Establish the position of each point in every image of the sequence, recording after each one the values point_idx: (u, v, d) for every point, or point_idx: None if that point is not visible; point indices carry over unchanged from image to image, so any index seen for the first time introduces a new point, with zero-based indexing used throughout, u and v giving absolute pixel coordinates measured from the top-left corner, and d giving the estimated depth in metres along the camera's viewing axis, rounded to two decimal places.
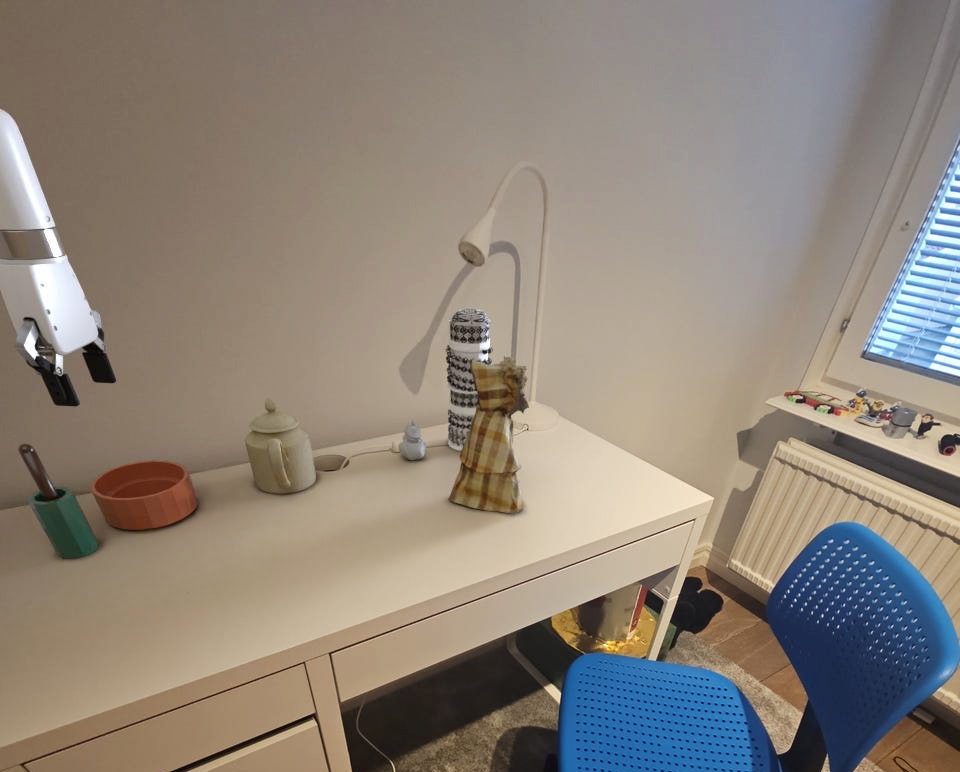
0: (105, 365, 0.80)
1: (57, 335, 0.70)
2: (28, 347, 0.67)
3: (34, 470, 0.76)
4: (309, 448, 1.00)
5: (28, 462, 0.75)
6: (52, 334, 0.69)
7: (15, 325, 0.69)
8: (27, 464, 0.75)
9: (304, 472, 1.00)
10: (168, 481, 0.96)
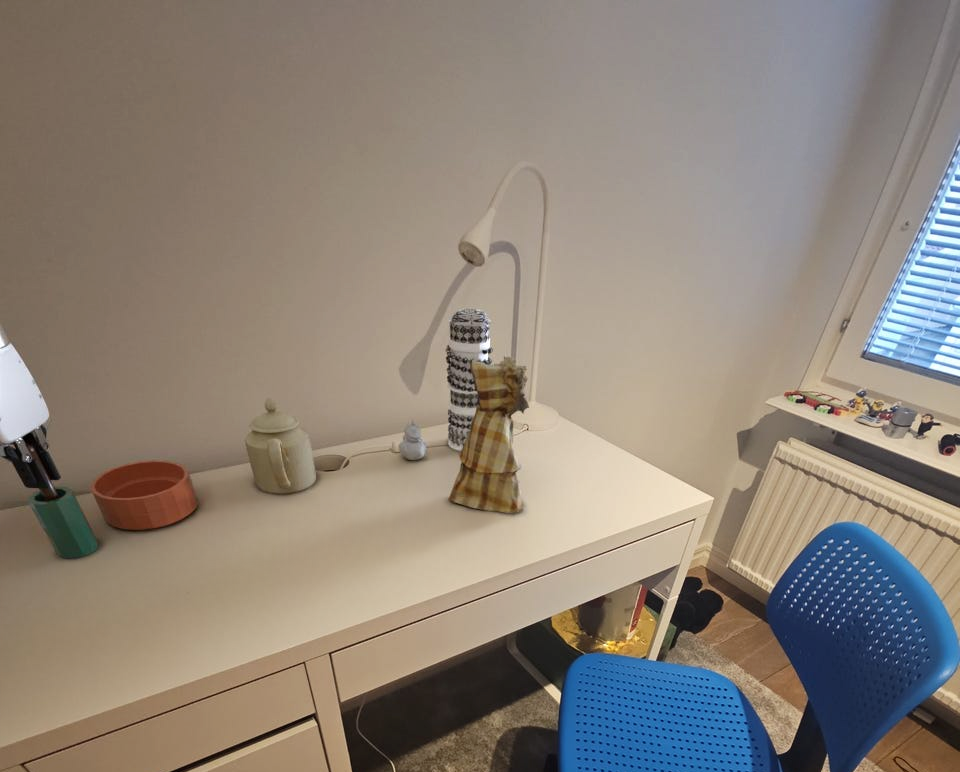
0: (47, 463, 0.77)
1: (1, 425, 0.68)
2: None
3: None
4: (309, 448, 1.00)
5: None
6: None
7: None
8: None
9: (304, 472, 1.00)
10: (168, 481, 0.96)
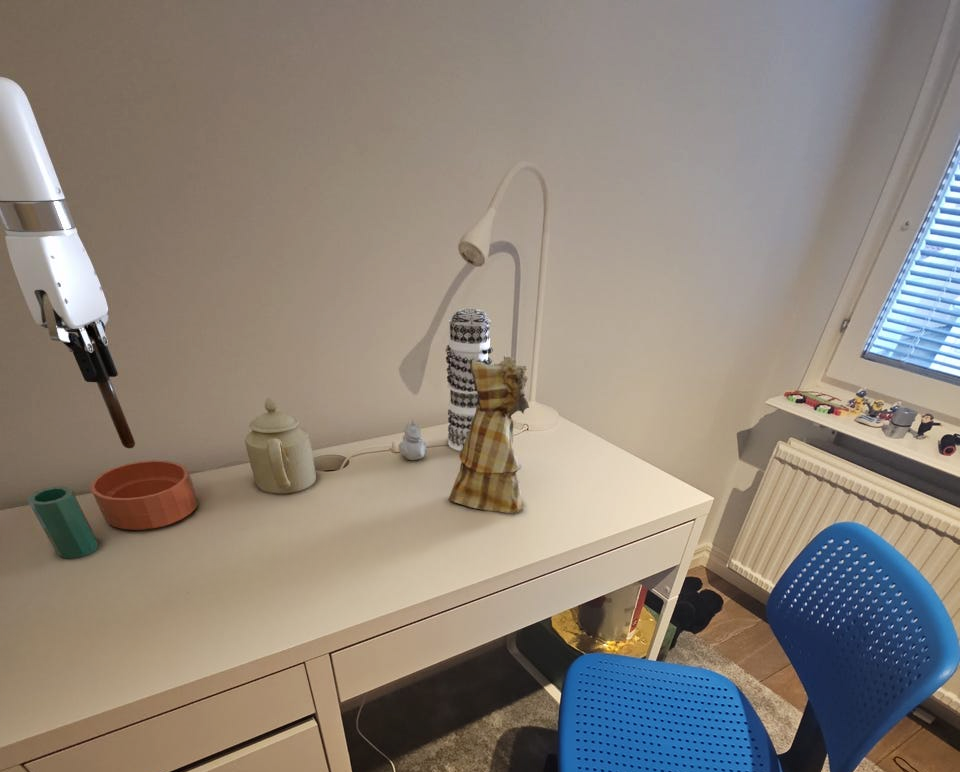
0: (106, 358, 0.79)
1: (68, 308, 0.70)
2: (61, 335, 0.71)
3: None
4: (309, 448, 1.00)
5: None
6: (63, 307, 0.70)
7: (26, 298, 0.69)
8: None
9: (304, 472, 1.00)
10: (168, 481, 0.96)
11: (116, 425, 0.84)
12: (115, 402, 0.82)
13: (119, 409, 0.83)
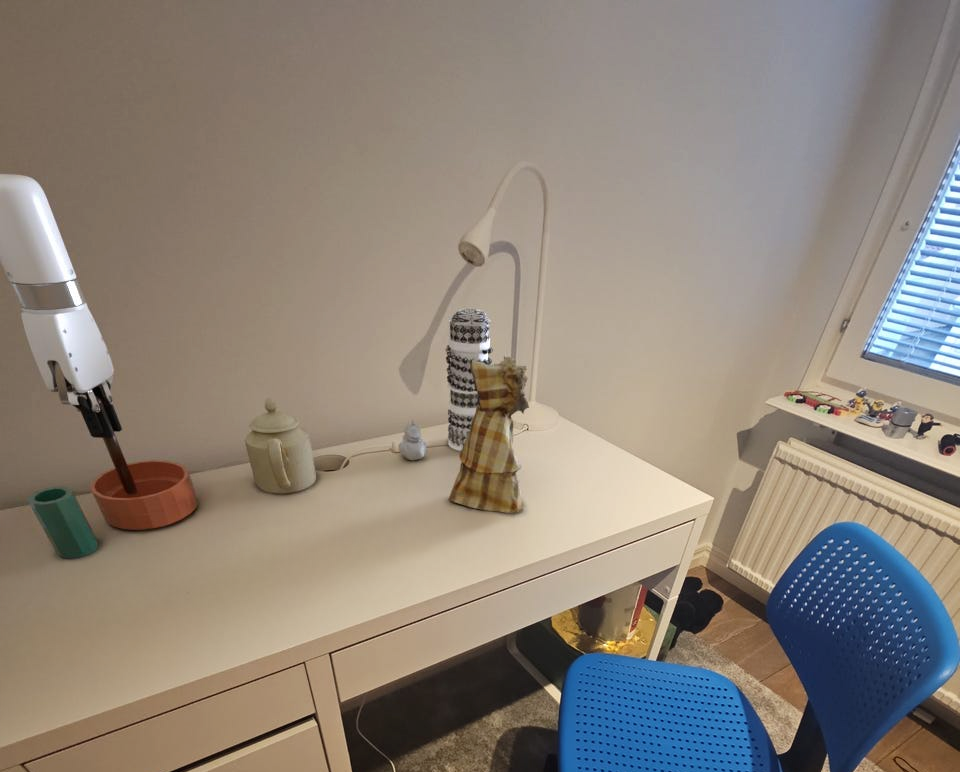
0: (111, 415, 0.85)
1: (78, 375, 0.76)
2: (71, 399, 0.77)
3: None
4: (309, 448, 1.00)
5: None
6: (73, 375, 0.76)
7: (39, 367, 0.75)
8: None
9: (304, 472, 1.00)
10: (168, 481, 0.96)
11: (119, 475, 0.89)
12: (119, 454, 0.88)
13: (123, 460, 0.88)
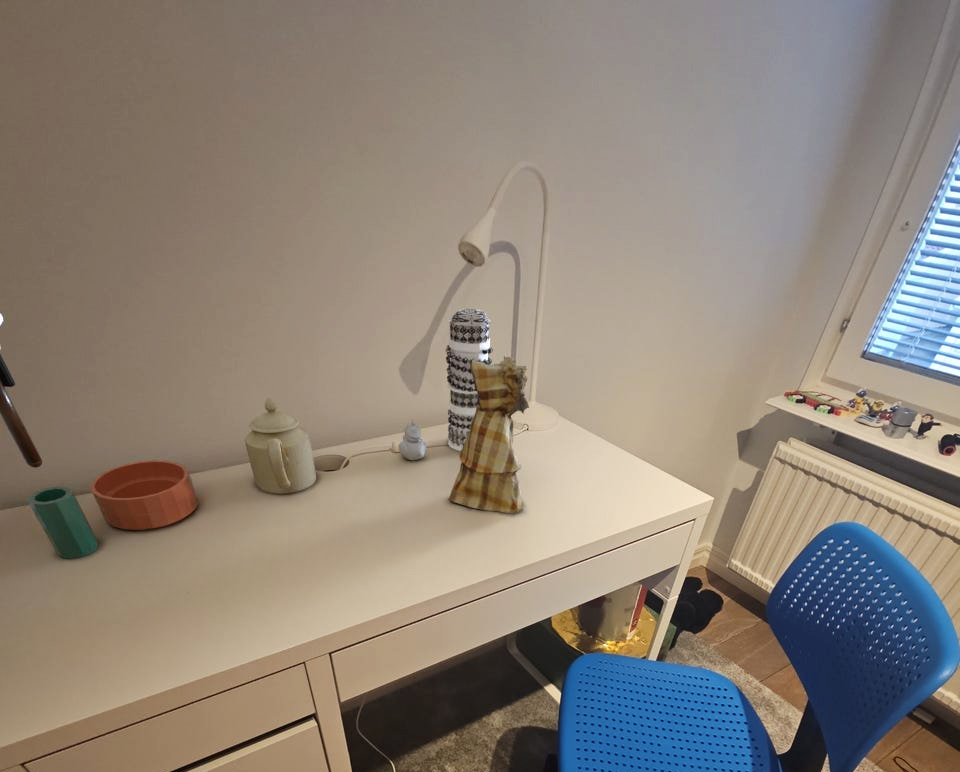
0: None
1: None
2: None
3: None
4: (309, 448, 1.00)
5: None
6: None
7: None
8: None
9: (304, 472, 1.00)
10: (168, 481, 0.96)
11: (16, 441, 0.73)
12: (13, 416, 0.71)
13: (19, 423, 0.72)
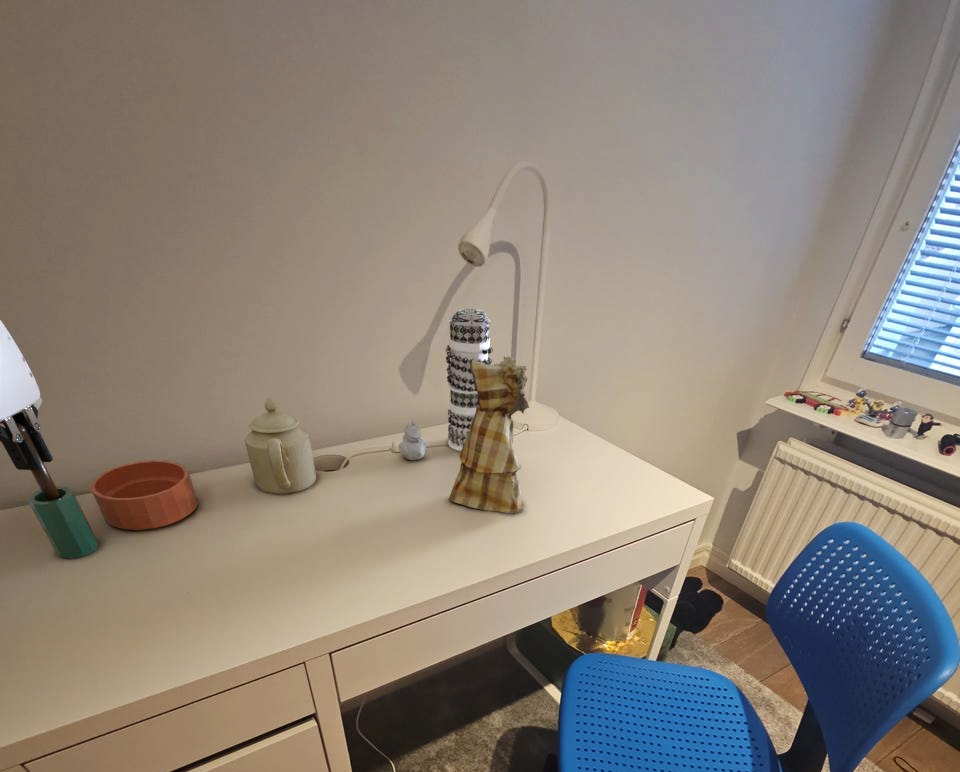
0: (39, 445, 0.75)
1: None
2: None
3: None
4: (309, 448, 1.00)
5: None
6: None
7: None
8: None
9: (304, 472, 1.00)
10: (168, 481, 0.96)
11: None
12: (51, 487, 0.78)
13: (56, 494, 0.79)
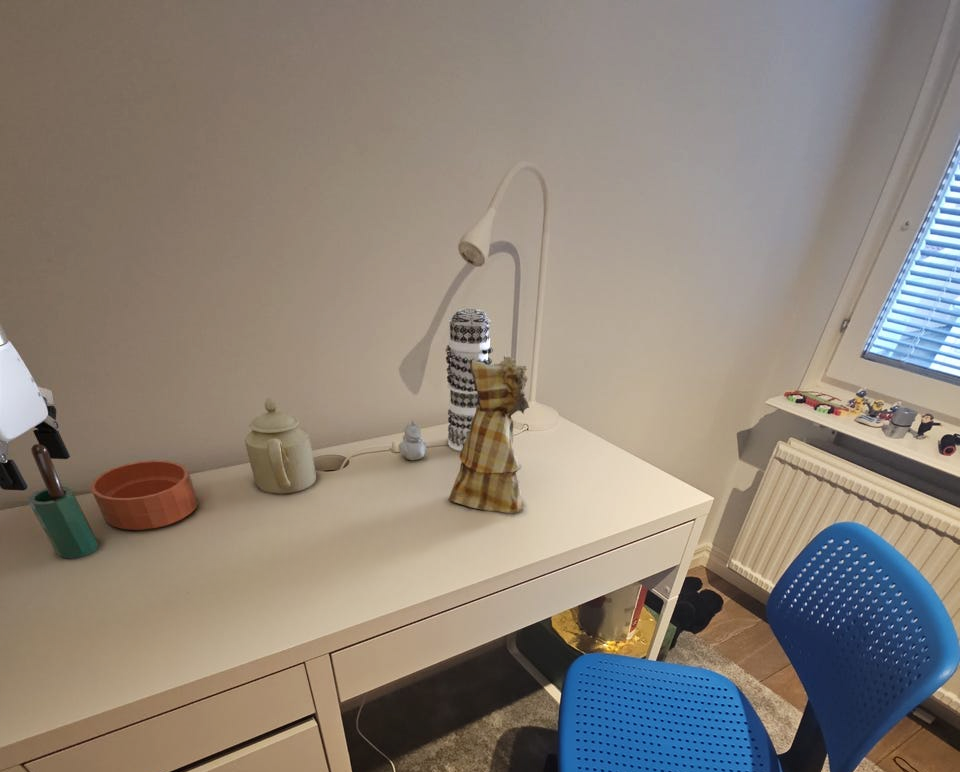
0: (57, 442, 0.79)
1: (0, 423, 0.68)
2: None
3: (45, 470, 0.76)
4: (309, 448, 1.00)
5: (40, 463, 0.75)
6: None
7: None
8: (38, 464, 0.75)
9: (304, 472, 1.00)
10: (168, 481, 0.96)
11: None
12: None
13: None
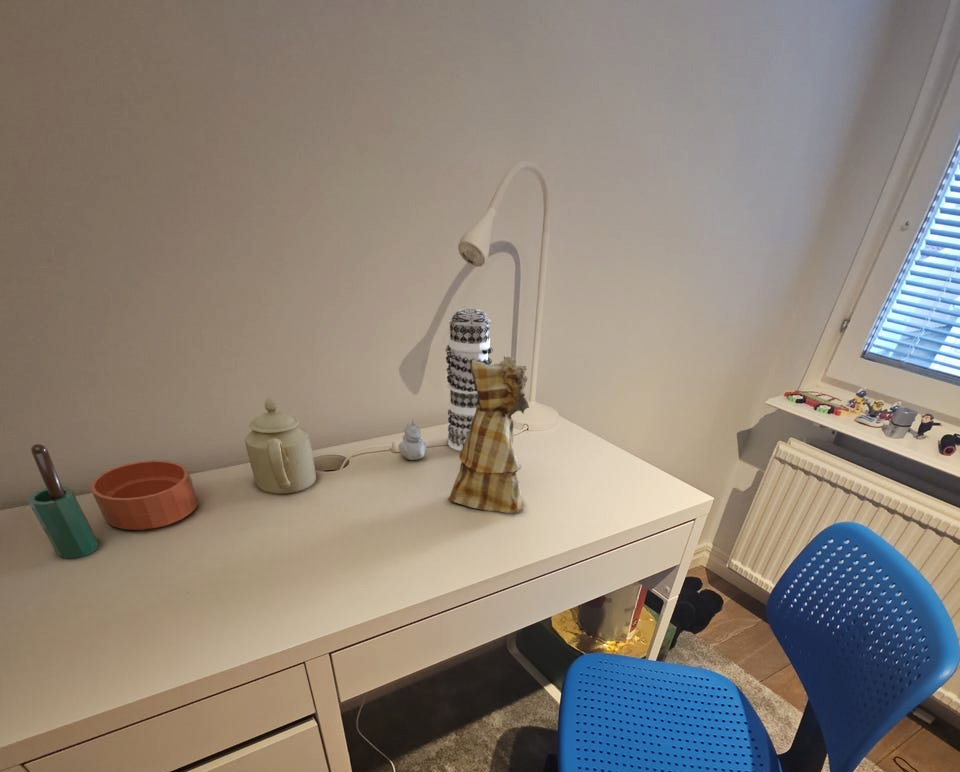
0: None
1: None
2: None
3: (45, 470, 0.76)
4: (309, 448, 1.00)
5: (40, 463, 0.75)
6: None
7: None
8: (38, 464, 0.75)
9: (304, 472, 1.00)
10: (168, 481, 0.96)
11: None
12: None
13: None
